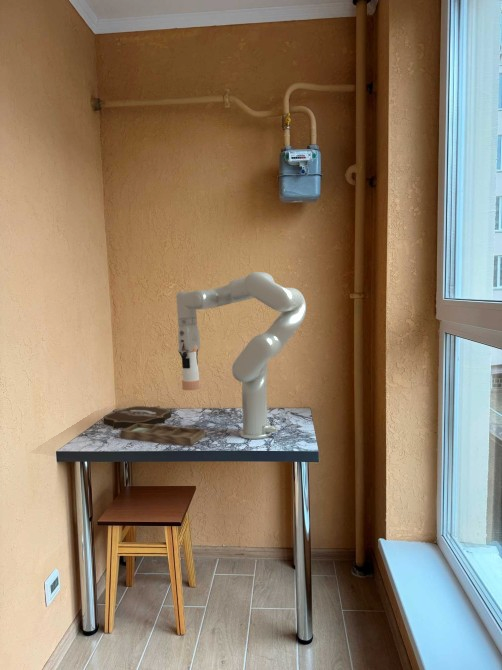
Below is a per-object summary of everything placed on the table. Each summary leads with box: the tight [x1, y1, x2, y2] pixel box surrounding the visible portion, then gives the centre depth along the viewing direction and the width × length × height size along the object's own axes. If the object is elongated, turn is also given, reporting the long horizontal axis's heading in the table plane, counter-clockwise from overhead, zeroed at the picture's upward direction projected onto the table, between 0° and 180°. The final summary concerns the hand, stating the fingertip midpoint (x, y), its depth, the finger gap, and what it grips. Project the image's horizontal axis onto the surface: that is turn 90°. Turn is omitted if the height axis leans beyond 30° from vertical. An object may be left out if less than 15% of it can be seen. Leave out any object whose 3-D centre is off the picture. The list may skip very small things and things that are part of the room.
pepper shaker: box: [181, 345, 201, 391], centre depth 187 cm, size 7×7×19 cm
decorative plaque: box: [103, 405, 172, 430], centre depth 206 cm, size 30×3×30 cm
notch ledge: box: [119, 423, 206, 447], centre depth 179 cm, size 31×11×3 cm, turn 68°
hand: (190, 366), depth 187 cm, fingers closed on pepper shaker, 5 cm apart
